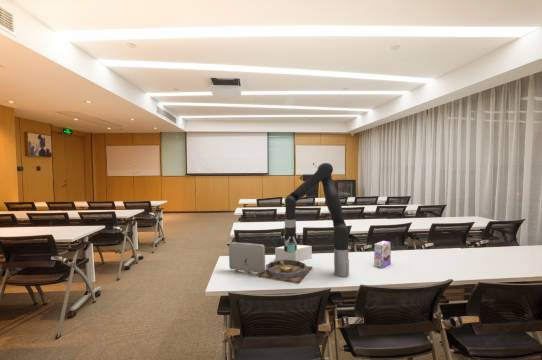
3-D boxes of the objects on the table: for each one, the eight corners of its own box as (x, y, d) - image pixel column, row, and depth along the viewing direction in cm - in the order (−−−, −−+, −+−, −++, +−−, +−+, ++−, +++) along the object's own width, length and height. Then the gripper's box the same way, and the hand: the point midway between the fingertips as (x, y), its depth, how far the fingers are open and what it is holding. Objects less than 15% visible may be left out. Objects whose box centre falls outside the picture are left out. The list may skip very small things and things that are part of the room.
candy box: (382, 268, 189) (381, 245, 188) (374, 266, 193) (373, 243, 193) (391, 263, 198) (390, 241, 197) (383, 262, 202) (383, 240, 202)
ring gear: (311, 266, 191) (311, 262, 191) (298, 281, 166) (298, 276, 166) (276, 262, 202) (276, 258, 202) (259, 274, 178) (259, 270, 178)
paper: (314, 261, 206) (314, 248, 206) (276, 264, 203) (276, 250, 203) (309, 256, 221) (309, 243, 220) (274, 258, 217) (274, 245, 217)
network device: (227, 272, 187) (227, 244, 186) (234, 268, 195) (233, 241, 194) (261, 277, 177) (261, 246, 177) (266, 272, 185) (266, 243, 185)
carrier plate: (312, 268, 191) (312, 261, 191) (299, 283, 166) (298, 274, 166) (276, 263, 203) (275, 256, 203) (258, 277, 178) (258, 268, 177)
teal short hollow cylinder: (295, 250, 183) (295, 243, 183) (294, 253, 177) (294, 245, 177) (286, 250, 184) (286, 243, 184) (285, 252, 178) (285, 245, 178)
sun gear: (294, 269, 186) (294, 265, 186) (290, 273, 178) (290, 269, 178) (282, 267, 190) (282, 264, 190) (277, 271, 182) (277, 268, 182)
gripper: (297, 224, 186) (297, 248, 187) (278, 225, 181) (278, 250, 182) (302, 226, 179) (302, 251, 180) (282, 227, 174) (282, 253, 175)
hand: (290, 250), depth 181 cm, fingers closed on teal short hollow cylinder, 6 cm apart
